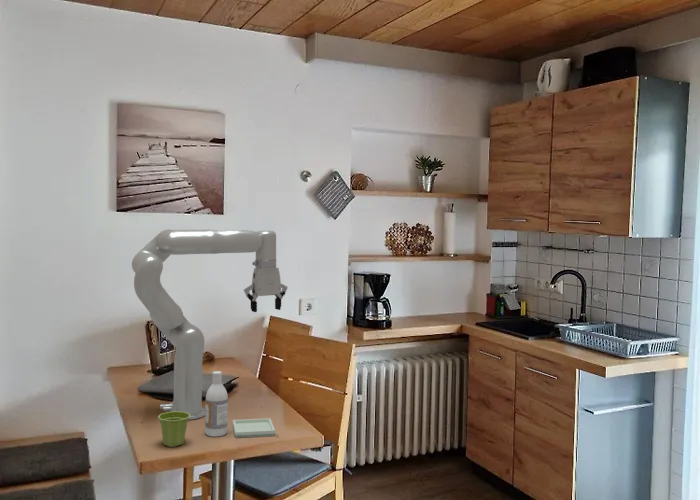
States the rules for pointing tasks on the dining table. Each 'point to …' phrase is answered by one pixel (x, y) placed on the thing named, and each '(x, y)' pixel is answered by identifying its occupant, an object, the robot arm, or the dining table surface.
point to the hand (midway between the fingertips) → (266, 310)
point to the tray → (253, 428)
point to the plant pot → (173, 427)
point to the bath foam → (216, 407)
